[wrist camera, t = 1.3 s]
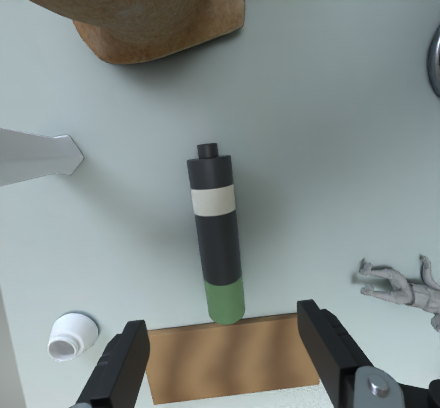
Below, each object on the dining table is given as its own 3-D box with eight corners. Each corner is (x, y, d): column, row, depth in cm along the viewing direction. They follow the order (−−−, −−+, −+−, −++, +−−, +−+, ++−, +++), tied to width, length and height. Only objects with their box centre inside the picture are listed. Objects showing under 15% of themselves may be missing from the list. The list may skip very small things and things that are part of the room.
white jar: (65, 304, 25) (50, 335, 26) (46, 324, 22) (30, 358, 23) (106, 321, 25) (90, 351, 26) (93, 342, 22) (75, 375, 23)
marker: (186, 147, 21) (181, 146, 17) (227, 142, 21) (231, 140, 17) (209, 304, 25) (209, 332, 21) (242, 300, 25) (248, 327, 21)
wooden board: (316, 310, 26) (320, 315, 25) (316, 378, 29) (319, 384, 28) (139, 331, 26) (136, 337, 25) (155, 398, 28) (153, 405, 28)
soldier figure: (367, 238, 25) (493, 269, 22) (349, 253, 29) (453, 281, 26) (370, 306, 21) (525, 354, 18) (349, 313, 25) (473, 354, 22)
